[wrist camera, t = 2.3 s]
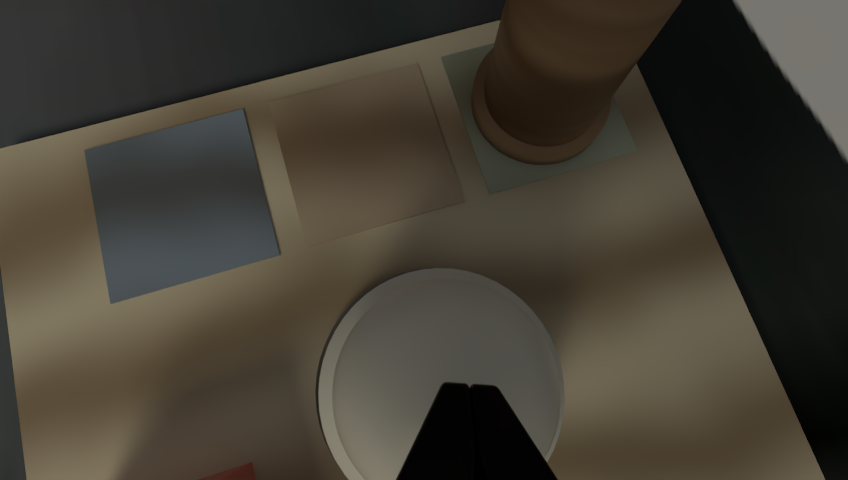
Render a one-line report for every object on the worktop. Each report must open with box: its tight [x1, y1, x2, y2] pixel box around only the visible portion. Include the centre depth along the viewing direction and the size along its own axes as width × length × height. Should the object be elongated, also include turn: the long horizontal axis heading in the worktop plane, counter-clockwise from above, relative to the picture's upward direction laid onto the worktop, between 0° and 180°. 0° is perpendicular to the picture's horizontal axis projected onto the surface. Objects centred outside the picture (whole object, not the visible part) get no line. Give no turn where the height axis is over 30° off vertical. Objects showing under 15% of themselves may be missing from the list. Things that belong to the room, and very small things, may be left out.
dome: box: [318, 268, 565, 480], centre depth 13 cm, size 7×7×6 cm
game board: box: [0, 20, 825, 480], centre depth 19 cm, size 20×25×2 cm
